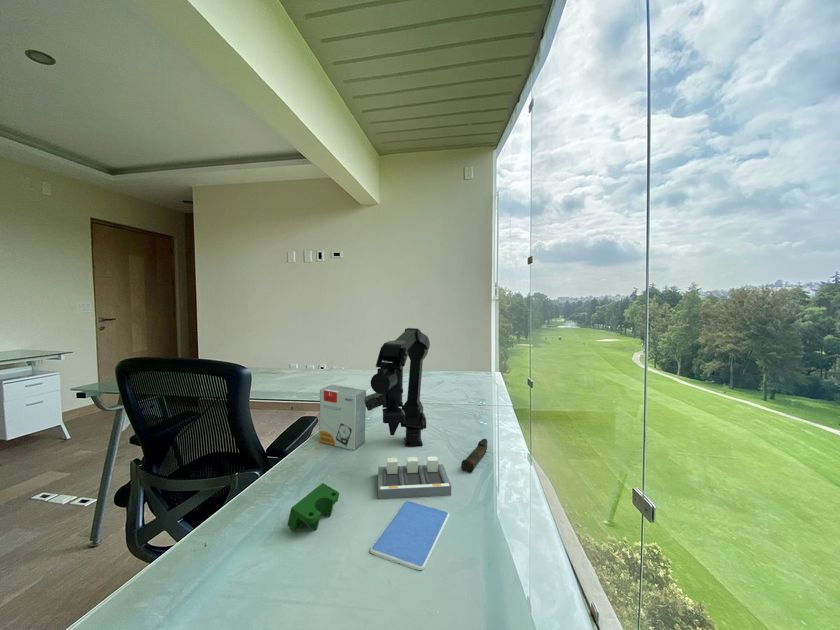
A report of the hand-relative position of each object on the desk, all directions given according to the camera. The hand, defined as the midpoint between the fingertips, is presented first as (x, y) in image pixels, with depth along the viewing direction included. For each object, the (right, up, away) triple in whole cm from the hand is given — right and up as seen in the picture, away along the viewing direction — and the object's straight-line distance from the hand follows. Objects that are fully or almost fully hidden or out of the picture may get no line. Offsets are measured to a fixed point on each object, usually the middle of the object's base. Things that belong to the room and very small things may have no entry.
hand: (392, 434), depth 101 cm
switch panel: (+6, -13, -5) cm, 15 cm away
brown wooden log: (+27, -13, +11) cm, 32 cm away
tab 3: (+12, -10, -2) cm, 16 cm away
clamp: (-17, -13, -21) cm, 30 cm away
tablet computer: (+7, -15, -24) cm, 29 cm away
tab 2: (+6, -10, -3) cm, 12 cm away
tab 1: (0, -10, -3) cm, 10 cm away
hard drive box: (-20, -11, +21) cm, 31 cm away
